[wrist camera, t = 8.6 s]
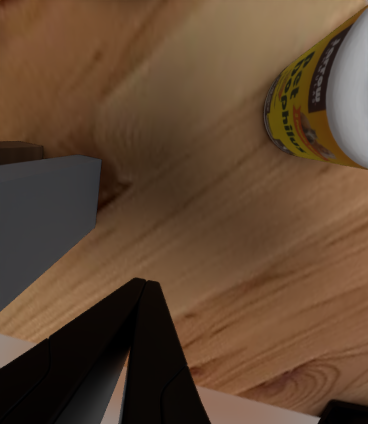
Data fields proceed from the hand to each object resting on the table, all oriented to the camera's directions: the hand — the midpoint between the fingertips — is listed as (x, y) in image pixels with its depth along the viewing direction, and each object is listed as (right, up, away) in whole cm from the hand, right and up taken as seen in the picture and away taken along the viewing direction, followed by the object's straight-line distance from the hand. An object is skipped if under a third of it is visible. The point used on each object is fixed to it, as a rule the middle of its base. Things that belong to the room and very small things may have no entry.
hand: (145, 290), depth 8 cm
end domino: (-5, +4, +8) cm, 11 cm away
